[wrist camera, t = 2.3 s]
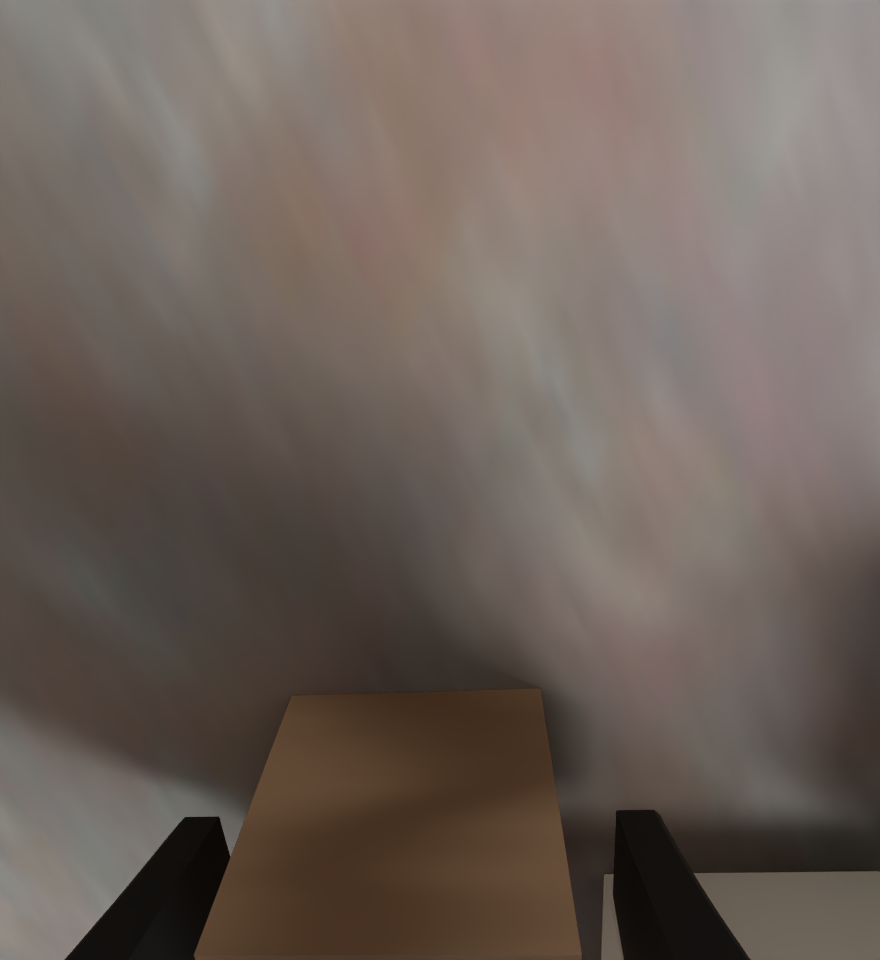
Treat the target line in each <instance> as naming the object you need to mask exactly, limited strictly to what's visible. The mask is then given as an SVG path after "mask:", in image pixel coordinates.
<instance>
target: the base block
mask: <svg viewBox="0 0 880 960" xmlns="http://www.w3.org/2000/svg"><path fill="white" fill-rule="evenodd" d="M694 875H695V877H696V878H697V880H698V881H699V883H700V885H701V886H702V888H703V889H704V891H705V892H706V894H707V896H708V897H709V899H710V900H711V902H712V903H713V905H714V906H715V908H716V909H717V911H718V913H719V914H720V916H721V917H722V919H723V920H724V921H725V923H726V924H727V926H728V927H729V929H730V930H731V932H732V933H733V935H734V936H735V938H736V939H737V940H738V942H739V943H740V945H741V946H742V948H743V949H744V951H745V952H746V954H747V955H748V957H749V958H750V959H751V960H880V871H855V872H764V873H694ZM613 876H614V874H604V891H603V921H602V951H601V960H624V957H623V952H622V946H621V941H620V935H619V929H618V923H617V917H616V912H615V906H614V900H613Z"/></svg>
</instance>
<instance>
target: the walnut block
mask: <svg viewBox="0 0 880 960" xmlns="http://www.w3.org/2000/svg"><path fill="white" fill-rule="evenodd" d="M194 957H195V960H582V953H581V946H580V940H579V933H578V927H577V920H576V914H575V908H574V901H573V895H572V888H571V882H570V875H569V869H568V862H567V856H566V849H565V843H564V837H563V830H562V824H561V817H560V811H559V804H558V798H557V791H556V785H555V778H554V772H553V766H552V759H551V753H550V746H549V740H548V733H547V727H546V720H545V714H544V707H543V701H542V695H541V688H537V689H501V690H466V691H430V692H395V693H359V694H324V695H292V696H291V698H290V701H289V704H288V706H287V709H286V712H285V714H284V717H283V720H282V722H281V725H280V728H279V730H278V733H277V735H276V738H275V741H274V743H273V746H272V749H271V751H270V754H269V757H268V759H267V762H266V765H265V767H264V770H263V773H262V775H261V778H260V781H259V783H258V786H257V789H256V791H255V794H254V797H253V799H252V802H251V805H250V807H249V810H248V813H247V815H246V818H245V820H244V823H243V826H242V828H241V831H240V834H239V836H238V839H237V842H236V844H235V847H234V850H233V852H232V855H231V858H230V860H229V863H228V866H227V868H226V871H225V874H224V876H223V879H222V882H221V884H220V887H219V890H218V892H217V895H216V898H215V900H214V903H213V905H212V908H211V911H210V913H209V916H208V919H207V921H206V924H205V927H204V929H203V932H202V935H201V937H200V940H199V943H198V945H197V948H196V951H195V953H194Z"/></svg>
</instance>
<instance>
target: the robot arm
mask: <svg viewBox="0 0 880 960" xmlns="http://www.w3.org/2000/svg"><path fill="white" fill-rule="evenodd" d="M229 860H230V855H229V851H228V847H227V844H226V840H225V836H224V833H223V829H222V825H221V822H220V818H219V817H185V818H184V819H183V820H182V821H181V822H180V823H179V824H178V826H177V827H176V828H175V829H174V830H173V832H172V833H171V834H170V835H169V836H168V838H167V839H166V840H165V841H164V842H163V844H162V845H161V846H160V847H159V849H158V850H157V851H156V852H155V853H154V855H153V856H152V857H151V858H150V860H149V861H148V862H147V863H146V864H145V866H144V867H143V868H142V869H141V871H140V872H139V873H138V874H137V875H136V877H135V878H134V879H133V880H132V881H131V883H130V884H129V885H128V886H127V887H126V889H125V890H124V891H123V892H122V893H121V895H120V896H119V897H118V898H117V899H116V901H115V902H114V903H113V904H112V905H111V906H110V908H109V909H108V910H107V911H106V912H105V913H104V915H103V916H102V917H101V918H100V919H99V920H98V922H97V923H96V924H95V925H94V926H93V927H92V929H91V930H90V931H89V932H88V933H87V934H86V936H85V937H84V938H83V939H82V940H81V941H80V943H79V944H78V945H77V946H76V947H75V948H74V949H73V951H72V952H71V953H70V954H69V955H68V956H67V957H66V959H65V960H195V957H194V953H195V951H196V948H197V945H198V943H199V940H200V937H201V935H202V932H203V929H204V927H205V924H206V921H207V919H208V916H209V913H210V911H211V908H212V905H213V903H214V900H215V898H216V895H217V892H218V890H219V887H220V884H221V882H222V879H223V876H224V874H225V871H226V868H227V866H228V863H229ZM613 900H614V906H615V912H616V917H617V923H618V929H619V935H620V941H621V946H622V952H623V957H624V960H751V959H750V958H749V957H748V955H747V954H746V952H745V951H744V949H743V948H742V946H741V945H740V943H739V942H738V940H737V939H736V938H735V936H734V935H733V933H732V932H731V930H730V929H729V927H728V926H727V924H726V923H725V921H724V920H723V919H722V917H721V916H720V914H719V913H718V911H717V909H716V908H715V906H714V905H713V903H712V902H711V900H710V899H709V897H708V896H707V894H706V892H705V891H704V889H703V888H702V886H701V885H700V883H699V881H698V880H697V878H696V877H695V875H694V873H693V872H692V870H691V868H690V867H689V865H688V864H687V862H686V860H685V859H684V857H683V855H682V854H681V852H680V850H679V848H678V847H677V845H676V843H675V841H674V840H673V838H672V836H671V834H670V833H669V831H668V829H667V827H666V825H665V824H664V822H663V820H662V818H661V816H660V815H659V814H658V813H657V812H656V811H655V810H618V811H616V833H615V855H614V876H613Z"/></svg>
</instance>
